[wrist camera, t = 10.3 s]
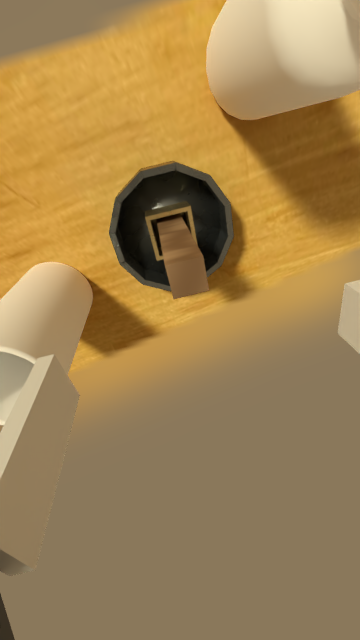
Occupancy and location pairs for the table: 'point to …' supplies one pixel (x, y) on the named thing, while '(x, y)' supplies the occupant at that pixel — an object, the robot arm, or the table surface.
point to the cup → (40, 324)
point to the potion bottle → (283, 55)
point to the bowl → (163, 200)
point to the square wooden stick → (181, 257)
